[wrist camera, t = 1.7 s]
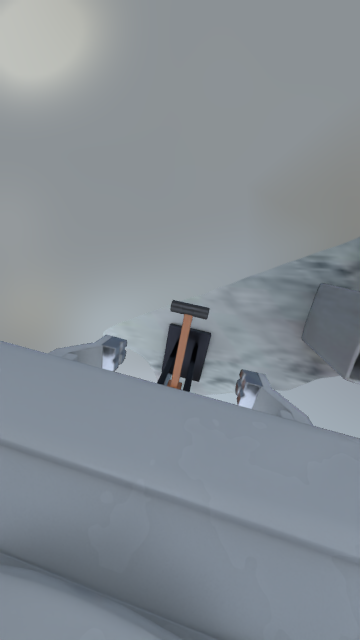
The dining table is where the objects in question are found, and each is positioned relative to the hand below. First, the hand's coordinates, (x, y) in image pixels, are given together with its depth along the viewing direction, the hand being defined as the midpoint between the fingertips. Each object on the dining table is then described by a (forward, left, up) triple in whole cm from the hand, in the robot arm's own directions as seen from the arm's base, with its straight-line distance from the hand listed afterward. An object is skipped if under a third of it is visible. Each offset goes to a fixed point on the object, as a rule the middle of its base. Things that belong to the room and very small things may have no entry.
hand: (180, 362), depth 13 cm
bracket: (+10, +9, -27) cm, 30 cm away
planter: (-16, +18, -27) cm, 36 cm away
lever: (+6, +4, -14) cm, 16 cm away
